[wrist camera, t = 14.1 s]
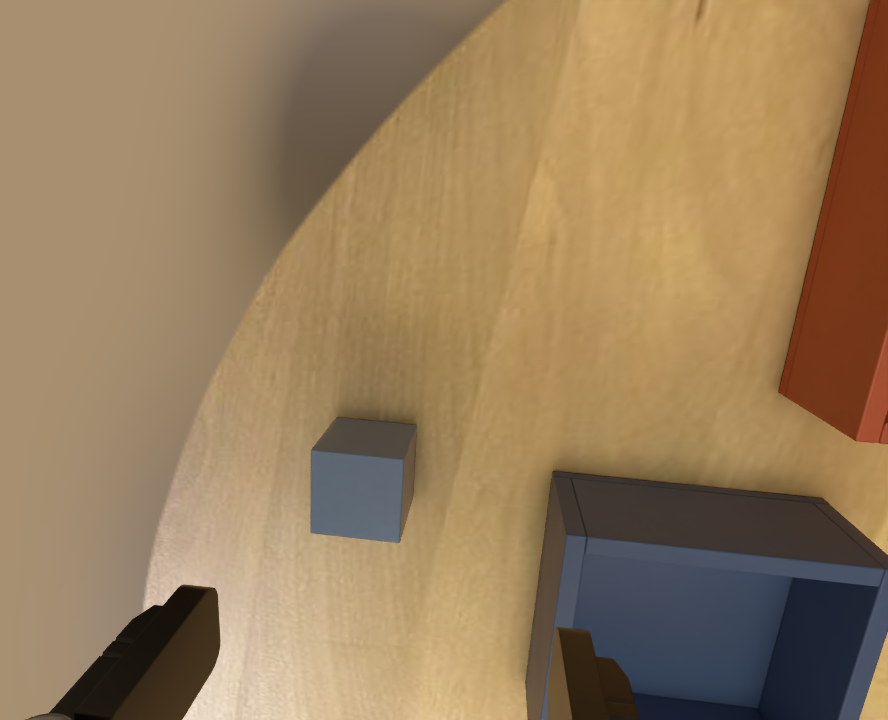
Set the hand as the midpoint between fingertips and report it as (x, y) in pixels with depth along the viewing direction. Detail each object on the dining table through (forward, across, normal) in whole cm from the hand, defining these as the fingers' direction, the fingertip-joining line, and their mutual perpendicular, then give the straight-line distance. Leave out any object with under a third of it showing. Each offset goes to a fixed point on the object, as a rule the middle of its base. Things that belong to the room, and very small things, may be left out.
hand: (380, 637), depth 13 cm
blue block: (+14, +3, +2) cm, 15 cm away
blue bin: (+14, -12, +8) cm, 20 cm away
